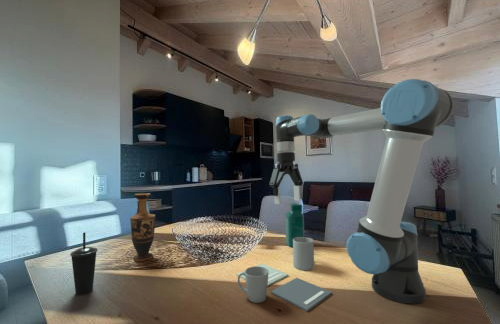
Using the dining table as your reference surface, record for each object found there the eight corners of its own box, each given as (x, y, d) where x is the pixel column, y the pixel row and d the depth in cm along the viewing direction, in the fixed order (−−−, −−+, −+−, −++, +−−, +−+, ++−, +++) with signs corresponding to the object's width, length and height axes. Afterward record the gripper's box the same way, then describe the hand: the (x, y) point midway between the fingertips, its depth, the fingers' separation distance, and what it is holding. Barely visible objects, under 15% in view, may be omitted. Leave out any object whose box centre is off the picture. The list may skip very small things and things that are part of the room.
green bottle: (285, 242, 131) (284, 202, 132) (300, 241, 132) (299, 201, 132) (290, 248, 121) (289, 205, 122) (306, 247, 122) (305, 204, 123)
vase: (158, 259, 110) (157, 193, 110) (132, 265, 104) (132, 195, 104) (152, 252, 119) (152, 192, 119) (128, 257, 112) (128, 193, 113)
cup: (267, 306, 71) (266, 277, 71) (234, 302, 73) (234, 274, 74) (270, 293, 79) (270, 267, 79) (241, 290, 81) (240, 264, 81)
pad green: (288, 275, 91) (288, 273, 91) (262, 288, 82) (262, 286, 82) (262, 265, 101) (262, 263, 101) (236, 275, 92) (236, 273, 92)
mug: (314, 271, 94) (313, 243, 95) (292, 269, 97) (291, 242, 97) (314, 260, 106) (313, 235, 106) (294, 258, 108) (294, 234, 108)
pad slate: (331, 293, 78) (331, 291, 78) (306, 311, 68) (306, 309, 68) (296, 279, 88) (296, 277, 88) (270, 293, 79) (270, 290, 79)
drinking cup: (81, 285, 86) (81, 229, 86) (102, 285, 85) (102, 229, 86) (64, 297, 78) (64, 235, 78) (87, 297, 78) (87, 235, 78)
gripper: (295, 154, 114) (297, 198, 113) (259, 152, 97) (261, 204, 96) (309, 152, 109) (311, 199, 108) (273, 150, 91) (275, 206, 90)
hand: (287, 202), depth 102 cm, fingers open, 13 cm apart
